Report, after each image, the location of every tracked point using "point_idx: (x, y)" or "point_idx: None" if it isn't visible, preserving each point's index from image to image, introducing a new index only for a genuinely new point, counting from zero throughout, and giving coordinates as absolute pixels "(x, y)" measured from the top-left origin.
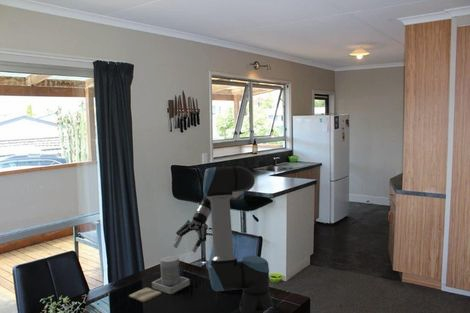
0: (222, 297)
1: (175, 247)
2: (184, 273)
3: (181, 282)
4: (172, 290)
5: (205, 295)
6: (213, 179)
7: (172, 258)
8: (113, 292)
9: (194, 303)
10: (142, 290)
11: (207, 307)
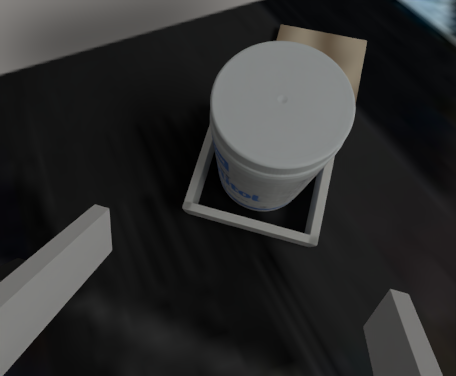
0: (12, 146)
1: (377, 318)
2: (281, 340)
3: (202, 160)
4: None
5: (83, 141)
6: None
7: (261, 109)
8: (451, 55)
9: (103, 76)
10: None
11: (49, 66)
